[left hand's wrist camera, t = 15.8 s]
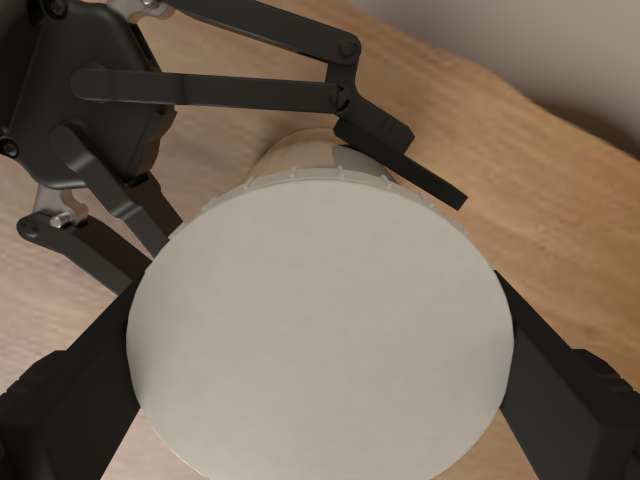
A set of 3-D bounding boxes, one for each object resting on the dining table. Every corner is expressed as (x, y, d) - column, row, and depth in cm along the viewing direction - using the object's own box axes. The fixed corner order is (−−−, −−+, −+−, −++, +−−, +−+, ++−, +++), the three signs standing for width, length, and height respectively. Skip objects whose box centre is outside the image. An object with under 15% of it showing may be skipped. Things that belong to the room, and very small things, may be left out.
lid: (163, 126, 10) (135, 133, 9) (546, 209, 11) (583, 229, 9) (137, 437, 14) (114, 481, 12) (432, 485, 14) (445, 532, 13)
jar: (421, 204, 27) (556, 360, 11) (317, 292, 29) (314, 523, 14) (323, 94, 25) (327, 105, 9) (218, 198, 27) (81, 349, 11)
